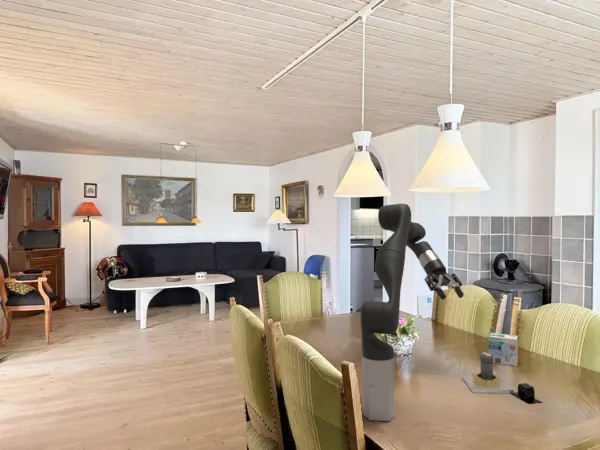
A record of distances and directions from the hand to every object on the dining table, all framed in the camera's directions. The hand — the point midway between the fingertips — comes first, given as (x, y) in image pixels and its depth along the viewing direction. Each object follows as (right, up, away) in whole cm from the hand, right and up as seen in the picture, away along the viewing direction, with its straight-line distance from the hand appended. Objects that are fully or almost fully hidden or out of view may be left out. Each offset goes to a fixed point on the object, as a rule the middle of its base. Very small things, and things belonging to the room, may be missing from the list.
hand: (453, 297), depth 160 cm
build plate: (+16, -29, -22) cm, 40 cm away
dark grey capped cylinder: (+8, -27, -11) cm, 31 cm away
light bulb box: (+25, -29, +14) cm, 41 cm away
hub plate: (+7, -29, -12) cm, 32 cm away
